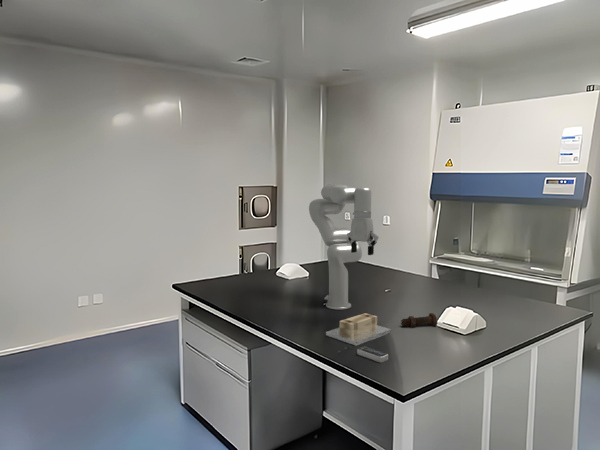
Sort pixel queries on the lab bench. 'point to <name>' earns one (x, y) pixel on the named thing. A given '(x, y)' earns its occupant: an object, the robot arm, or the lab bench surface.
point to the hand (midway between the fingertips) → (362, 253)
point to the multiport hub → (372, 354)
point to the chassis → (361, 337)
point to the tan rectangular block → (358, 324)
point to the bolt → (420, 320)
